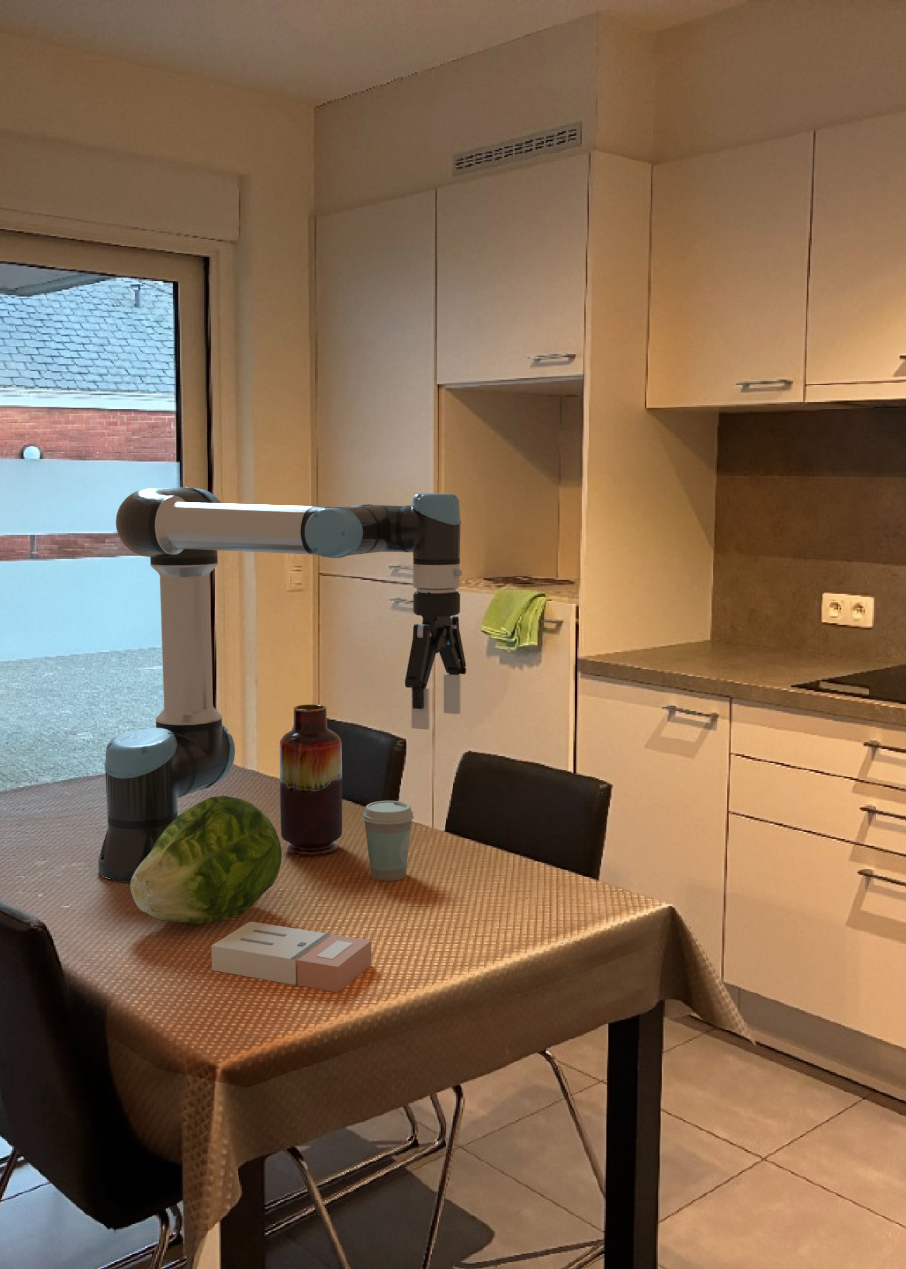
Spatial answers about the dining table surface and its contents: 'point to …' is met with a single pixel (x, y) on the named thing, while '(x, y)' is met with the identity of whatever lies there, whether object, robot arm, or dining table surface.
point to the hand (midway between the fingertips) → (436, 720)
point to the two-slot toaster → (264, 951)
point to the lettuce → (209, 863)
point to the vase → (311, 784)
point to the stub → (334, 963)
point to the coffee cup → (388, 838)
